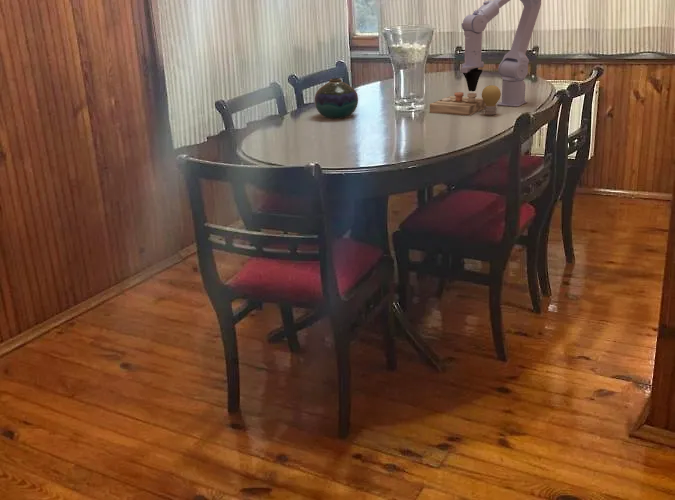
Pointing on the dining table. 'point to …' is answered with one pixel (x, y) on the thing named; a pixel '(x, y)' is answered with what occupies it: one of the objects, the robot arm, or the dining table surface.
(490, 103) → the light bulb
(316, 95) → the vase
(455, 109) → the socket board
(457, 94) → the plug mid
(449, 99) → the plug far
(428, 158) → the dining table surface
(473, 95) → the plug near
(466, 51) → the robot arm
